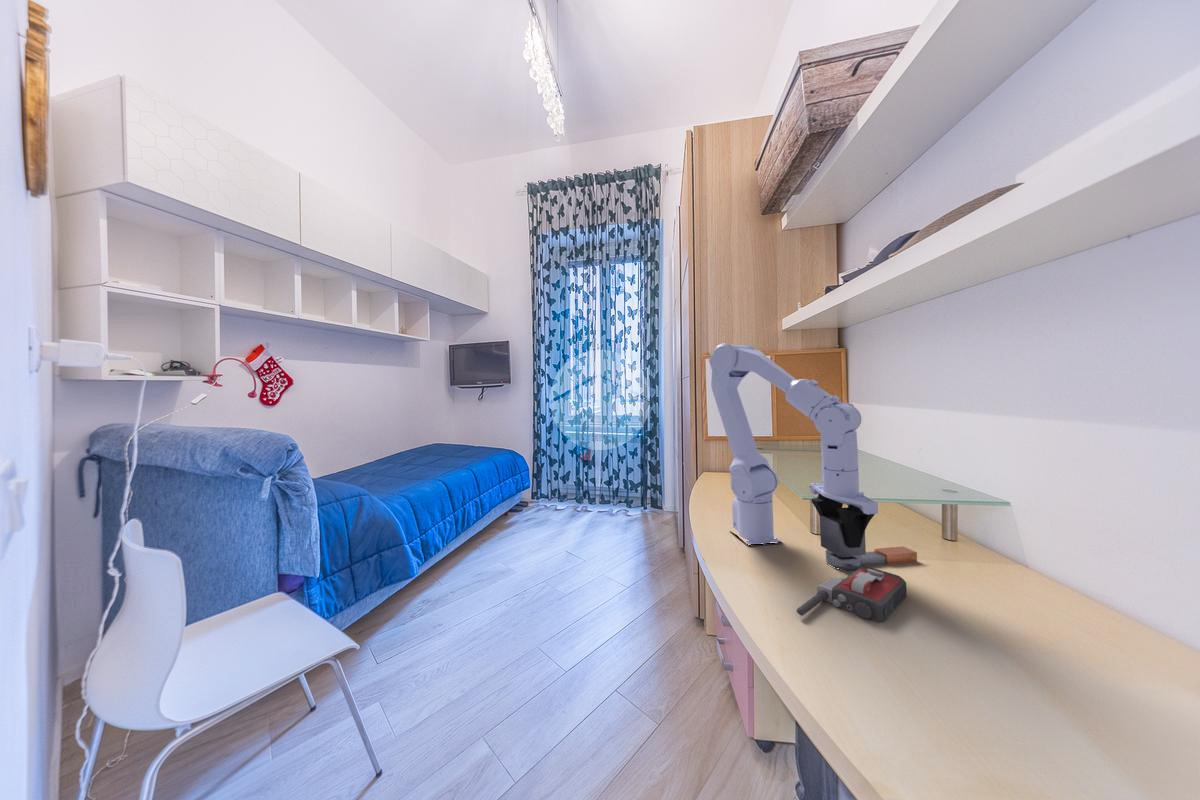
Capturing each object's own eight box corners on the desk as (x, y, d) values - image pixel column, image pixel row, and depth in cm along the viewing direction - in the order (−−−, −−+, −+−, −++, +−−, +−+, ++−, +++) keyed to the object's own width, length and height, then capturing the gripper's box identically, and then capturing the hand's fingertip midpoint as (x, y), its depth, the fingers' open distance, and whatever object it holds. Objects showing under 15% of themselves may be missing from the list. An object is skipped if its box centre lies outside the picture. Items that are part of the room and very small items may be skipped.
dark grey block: (820, 545, 72) (819, 514, 72) (845, 543, 72) (844, 512, 72) (839, 556, 67) (838, 523, 67) (865, 554, 68) (864, 521, 67)
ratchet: (840, 572, 67) (839, 544, 67) (819, 559, 72) (818, 533, 72) (924, 565, 68) (923, 537, 68) (897, 552, 74) (896, 527, 74)
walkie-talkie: (849, 575, 66) (791, 618, 55) (848, 550, 66) (790, 588, 55) (912, 595, 59) (861, 650, 47) (911, 567, 59) (859, 615, 47)
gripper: (893, 474, 63) (896, 555, 63) (832, 460, 77) (834, 526, 77) (854, 477, 62) (857, 559, 62) (799, 462, 77) (802, 529, 77)
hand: (842, 541), depth 70 cm, fingers closed on dark grey block, 5 cm apart
